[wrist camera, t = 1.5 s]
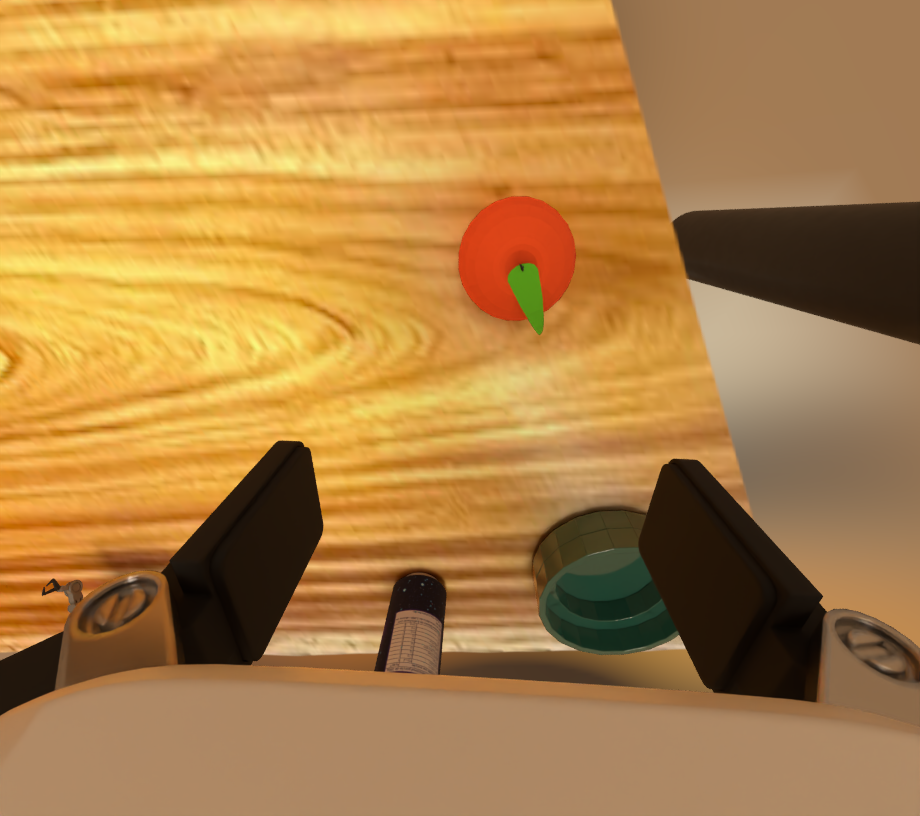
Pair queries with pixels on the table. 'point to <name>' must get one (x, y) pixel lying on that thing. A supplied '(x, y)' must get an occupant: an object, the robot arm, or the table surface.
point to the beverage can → (413, 627)
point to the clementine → (517, 259)
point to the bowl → (600, 586)
